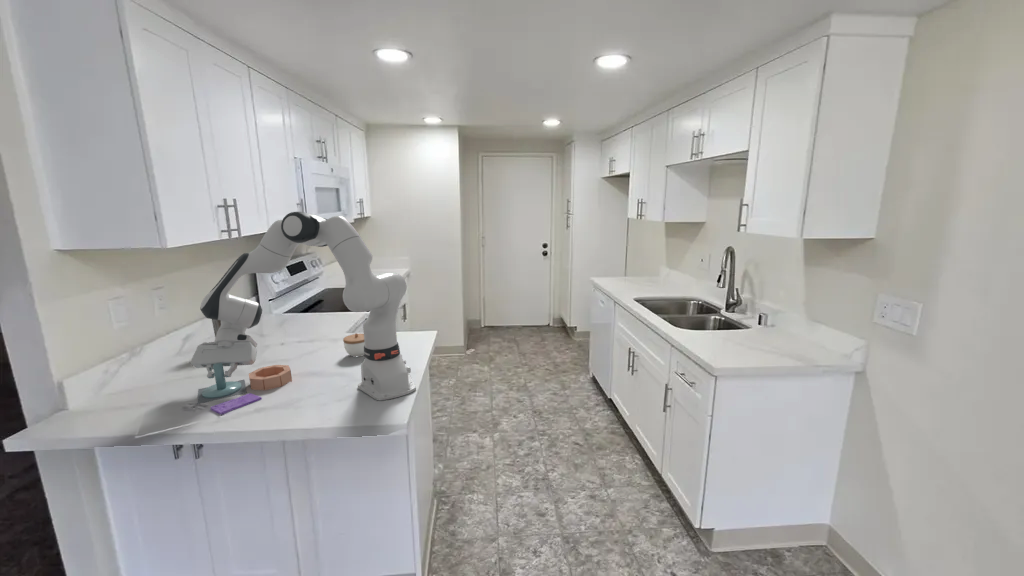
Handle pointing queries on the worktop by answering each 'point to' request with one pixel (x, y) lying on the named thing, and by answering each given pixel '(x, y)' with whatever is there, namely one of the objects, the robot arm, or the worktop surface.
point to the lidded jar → (354, 344)
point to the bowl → (270, 377)
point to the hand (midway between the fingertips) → (218, 377)
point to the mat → (203, 400)
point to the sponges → (235, 403)
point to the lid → (221, 384)
